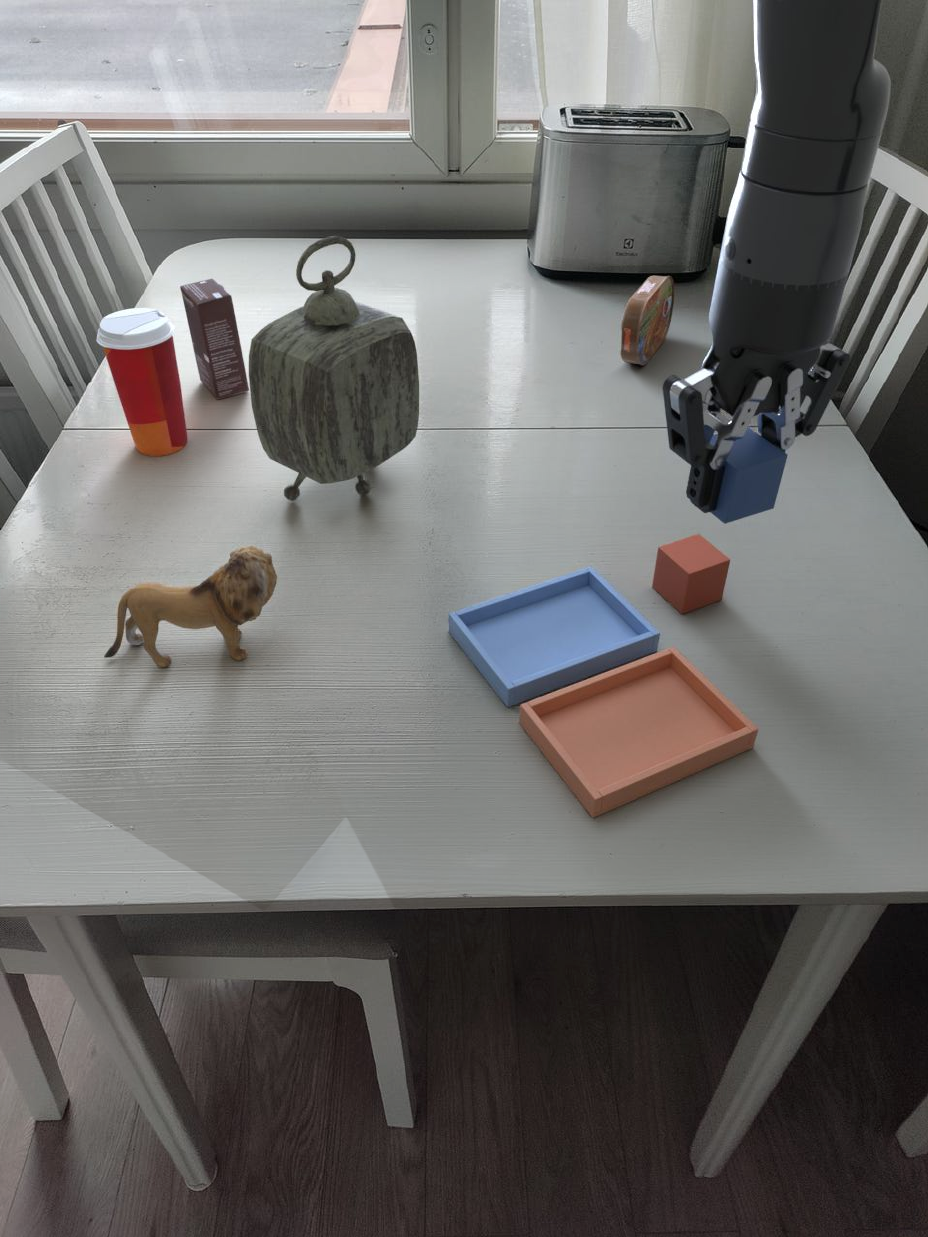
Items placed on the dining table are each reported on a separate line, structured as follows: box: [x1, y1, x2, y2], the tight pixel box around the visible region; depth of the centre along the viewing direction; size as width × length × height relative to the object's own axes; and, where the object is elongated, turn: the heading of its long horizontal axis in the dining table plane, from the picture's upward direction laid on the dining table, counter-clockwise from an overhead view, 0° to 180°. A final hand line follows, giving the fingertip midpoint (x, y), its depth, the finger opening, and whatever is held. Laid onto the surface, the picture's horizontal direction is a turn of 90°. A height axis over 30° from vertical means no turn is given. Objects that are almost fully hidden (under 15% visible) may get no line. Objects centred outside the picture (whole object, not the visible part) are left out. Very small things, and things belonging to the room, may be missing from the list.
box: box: [179, 278, 250, 400], centre depth 112 cm, size 6×4×12 cm
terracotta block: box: [651, 533, 731, 615], centre depth 84 cm, size 4×4×4 cm
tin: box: [619, 275, 675, 367], centre depth 121 cm, size 15×3×8 cm, turn 154°
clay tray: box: [518, 646, 759, 819], centre depth 71 cm, size 14×10×2 cm
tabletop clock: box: [248, 235, 420, 501], centre depth 90 cm, size 14×9×25 cm, turn 141°
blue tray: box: [448, 566, 661, 708], centre depth 79 cm, size 14×10×2 cm
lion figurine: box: [103, 545, 278, 668], centre depth 77 cm, size 15×5×9 cm, turn 104°
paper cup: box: [96, 307, 188, 457], centre depth 101 cm, size 8×8×14 cm
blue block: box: [710, 427, 789, 525], centre depth 67 cm, size 4×4×4 cm
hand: (730, 496), depth 68 cm, fingers closed on blue block, 4 cm apart
